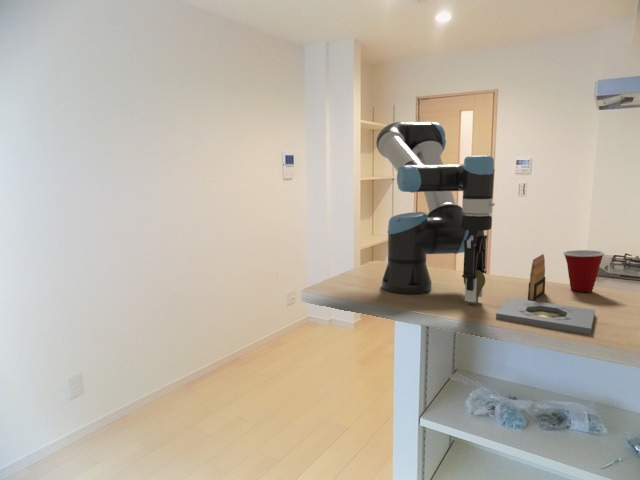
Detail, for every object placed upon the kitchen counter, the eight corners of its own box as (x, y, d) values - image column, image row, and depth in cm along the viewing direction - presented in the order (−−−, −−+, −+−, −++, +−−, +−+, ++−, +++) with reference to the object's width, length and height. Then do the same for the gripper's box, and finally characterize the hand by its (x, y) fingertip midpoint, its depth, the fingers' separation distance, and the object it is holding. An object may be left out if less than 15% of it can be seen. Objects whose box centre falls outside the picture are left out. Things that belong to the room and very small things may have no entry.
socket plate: (495, 319, 108) (496, 313, 108) (509, 303, 121) (510, 297, 121) (590, 334, 97) (590, 328, 96) (594, 315, 109) (595, 309, 109)
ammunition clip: (534, 301, 122) (537, 259, 121) (527, 300, 124) (529, 258, 122) (544, 293, 130) (547, 253, 129) (538, 292, 132) (540, 253, 130)
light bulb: (480, 302, 122) (481, 267, 121) (487, 308, 117) (488, 271, 115) (460, 302, 123) (461, 267, 121) (466, 308, 117) (467, 271, 116)
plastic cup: (565, 283, 141) (567, 247, 139) (604, 289, 134) (607, 250, 132) (556, 290, 133) (559, 252, 131) (597, 296, 126) (601, 255, 124)
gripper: (482, 218, 106) (478, 309, 110) (499, 212, 121) (496, 292, 125) (451, 217, 111) (449, 305, 114) (472, 211, 126) (469, 289, 129)
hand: (473, 298), depth 119 cm, fingers closed on light bulb, 5 cm apart
